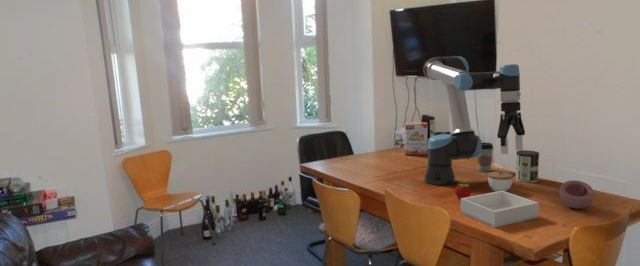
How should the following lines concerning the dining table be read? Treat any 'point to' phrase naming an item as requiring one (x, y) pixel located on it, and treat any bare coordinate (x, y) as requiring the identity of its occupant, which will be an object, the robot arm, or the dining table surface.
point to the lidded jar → (500, 181)
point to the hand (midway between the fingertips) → (512, 152)
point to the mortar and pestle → (576, 194)
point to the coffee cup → (485, 157)
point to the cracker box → (416, 138)
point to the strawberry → (462, 191)
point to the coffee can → (527, 166)
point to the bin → (499, 208)
